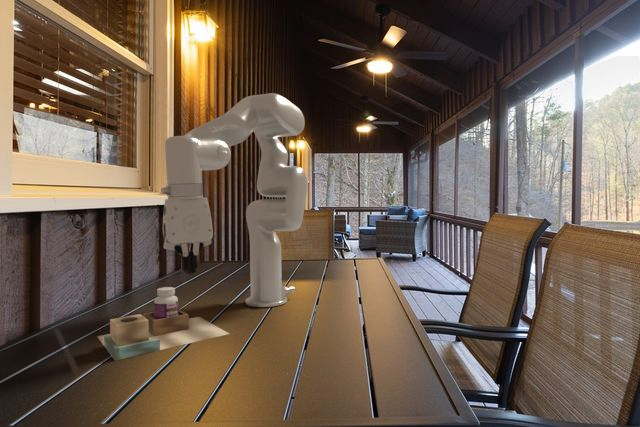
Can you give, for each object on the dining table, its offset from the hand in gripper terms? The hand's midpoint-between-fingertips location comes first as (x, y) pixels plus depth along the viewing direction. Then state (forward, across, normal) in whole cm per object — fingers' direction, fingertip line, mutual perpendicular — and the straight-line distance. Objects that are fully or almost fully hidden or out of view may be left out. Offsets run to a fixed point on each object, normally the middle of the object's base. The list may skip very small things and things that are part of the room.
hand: (189, 272), depth 92 cm
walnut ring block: (+14, -4, +8) cm, 17 cm away
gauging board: (+15, -6, +3) cm, 16 cm away
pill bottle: (+14, -4, +8) cm, 17 cm away
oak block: (+14, -14, -1) cm, 19 cm away
